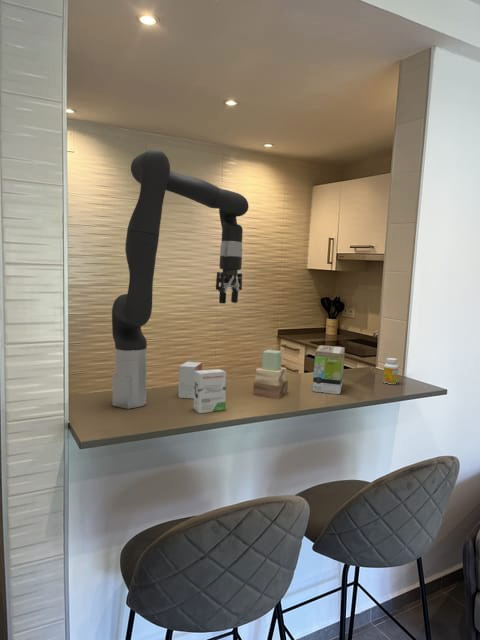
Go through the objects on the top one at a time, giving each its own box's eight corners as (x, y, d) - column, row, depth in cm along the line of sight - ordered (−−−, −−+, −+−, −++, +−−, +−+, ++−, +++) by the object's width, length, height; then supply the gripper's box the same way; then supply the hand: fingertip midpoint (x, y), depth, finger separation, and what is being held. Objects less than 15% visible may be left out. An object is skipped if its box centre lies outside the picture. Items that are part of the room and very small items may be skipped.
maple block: (277, 385, 149) (278, 372, 148) (255, 382, 152) (255, 369, 152) (285, 380, 156) (286, 368, 155) (264, 377, 159) (264, 365, 159)
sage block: (276, 371, 150) (277, 353, 149) (262, 369, 152) (262, 351, 151) (280, 368, 155) (281, 351, 154) (267, 366, 156) (267, 349, 156)
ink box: (219, 405, 139) (220, 368, 138) (226, 410, 134) (227, 371, 133) (192, 408, 135) (193, 369, 134) (198, 413, 131) (199, 373, 129)
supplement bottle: (380, 382, 177) (381, 357, 176) (391, 381, 179) (393, 357, 178) (388, 385, 172) (390, 360, 171) (400, 384, 174) (402, 360, 173)
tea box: (341, 395, 156) (343, 352, 155) (311, 392, 159) (314, 350, 157) (342, 384, 171) (345, 346, 169) (316, 382, 173) (318, 344, 172)
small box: (194, 399, 145) (195, 367, 144) (177, 397, 146) (178, 365, 145) (201, 392, 153) (202, 362, 151) (185, 391, 154) (186, 361, 153)
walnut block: (278, 399, 149) (278, 386, 148) (253, 395, 152) (253, 382, 152) (287, 393, 157) (287, 380, 156) (263, 389, 160) (263, 377, 160)
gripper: (231, 256, 162) (228, 301, 163) (210, 253, 149) (208, 302, 151) (250, 257, 158) (247, 303, 160) (230, 254, 146) (228, 304, 147)
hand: (228, 303), depth 155 cm, fingers open, 8 cm apart
